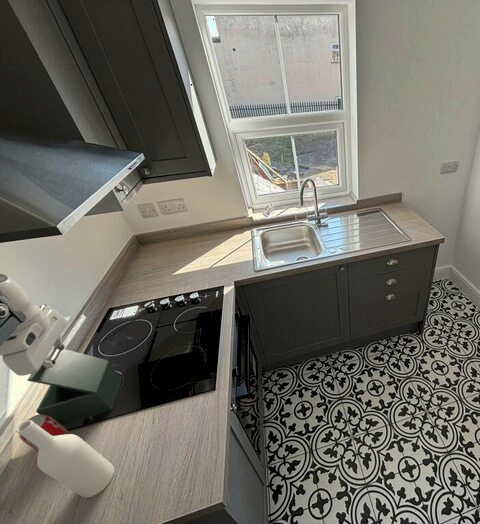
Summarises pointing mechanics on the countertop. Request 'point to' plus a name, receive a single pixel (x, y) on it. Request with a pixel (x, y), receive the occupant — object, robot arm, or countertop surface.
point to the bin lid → (71, 371)
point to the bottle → (69, 460)
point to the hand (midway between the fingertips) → (56, 357)
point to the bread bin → (81, 400)
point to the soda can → (46, 428)
